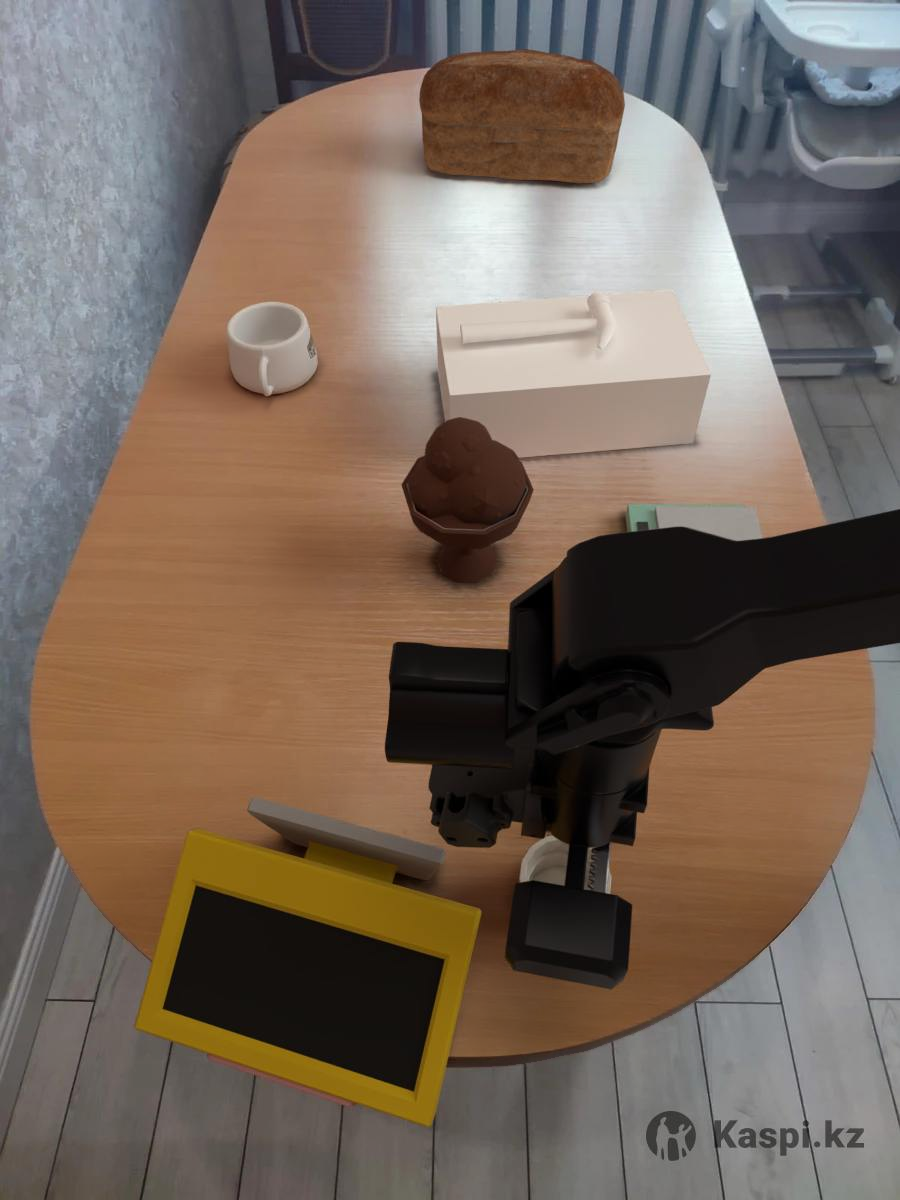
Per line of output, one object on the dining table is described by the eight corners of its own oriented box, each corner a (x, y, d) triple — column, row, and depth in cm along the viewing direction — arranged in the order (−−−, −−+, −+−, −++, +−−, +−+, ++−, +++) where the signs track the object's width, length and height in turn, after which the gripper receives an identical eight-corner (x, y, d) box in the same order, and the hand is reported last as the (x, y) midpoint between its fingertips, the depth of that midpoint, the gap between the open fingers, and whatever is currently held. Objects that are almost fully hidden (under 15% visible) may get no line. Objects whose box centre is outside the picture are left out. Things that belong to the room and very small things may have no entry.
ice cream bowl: (390, 588, 81) (376, 465, 69) (437, 505, 87) (432, 379, 75) (500, 622, 78) (506, 500, 66) (541, 534, 84) (552, 409, 73)
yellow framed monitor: (493, 860, 57) (422, 1138, 50) (495, 883, 63) (433, 1130, 57) (206, 782, 60) (103, 1031, 53) (239, 812, 67) (151, 1036, 60)
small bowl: (606, 868, 64) (614, 842, 60) (599, 952, 60) (607, 930, 57) (523, 853, 65) (526, 827, 61) (511, 936, 61) (514, 913, 58)
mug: (239, 344, 103) (228, 298, 99) (322, 343, 103) (315, 296, 99) (223, 412, 96) (211, 366, 91) (313, 410, 96) (305, 364, 91)
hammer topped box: (693, 443, 92) (716, 354, 83) (451, 463, 90) (449, 375, 82) (658, 357, 101) (676, 269, 92) (438, 374, 99) (435, 286, 91)
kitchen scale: (747, 518, 85) (753, 500, 83) (769, 609, 78) (776, 592, 76) (625, 516, 85) (628, 499, 84) (636, 607, 79) (640, 590, 77)
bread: (430, 141, 134) (426, 35, 123) (618, 153, 131) (632, 44, 119) (415, 181, 127) (409, 71, 115) (613, 194, 123) (628, 82, 112)
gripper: (470, 581, 52) (471, 719, 64) (399, 894, 41) (416, 989, 53) (665, 607, 50) (627, 743, 63) (647, 940, 39) (605, 1026, 51)
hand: (569, 862), depth 57 cm, fingers open, 9 cm apart
